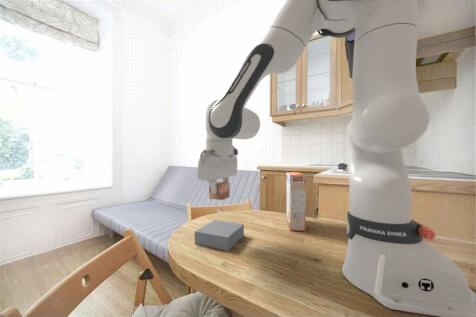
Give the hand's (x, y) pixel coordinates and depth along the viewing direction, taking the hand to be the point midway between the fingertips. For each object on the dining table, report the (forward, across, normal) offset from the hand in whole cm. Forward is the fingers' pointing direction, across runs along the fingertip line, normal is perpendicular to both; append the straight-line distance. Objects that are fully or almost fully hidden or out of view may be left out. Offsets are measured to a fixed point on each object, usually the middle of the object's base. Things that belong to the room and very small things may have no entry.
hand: (219, 191), depth 65 cm
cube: (+2, 0, 0) cm, 2 cm away
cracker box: (+16, +24, -21) cm, 36 cm away
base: (+16, 0, 0) cm, 16 cm away
